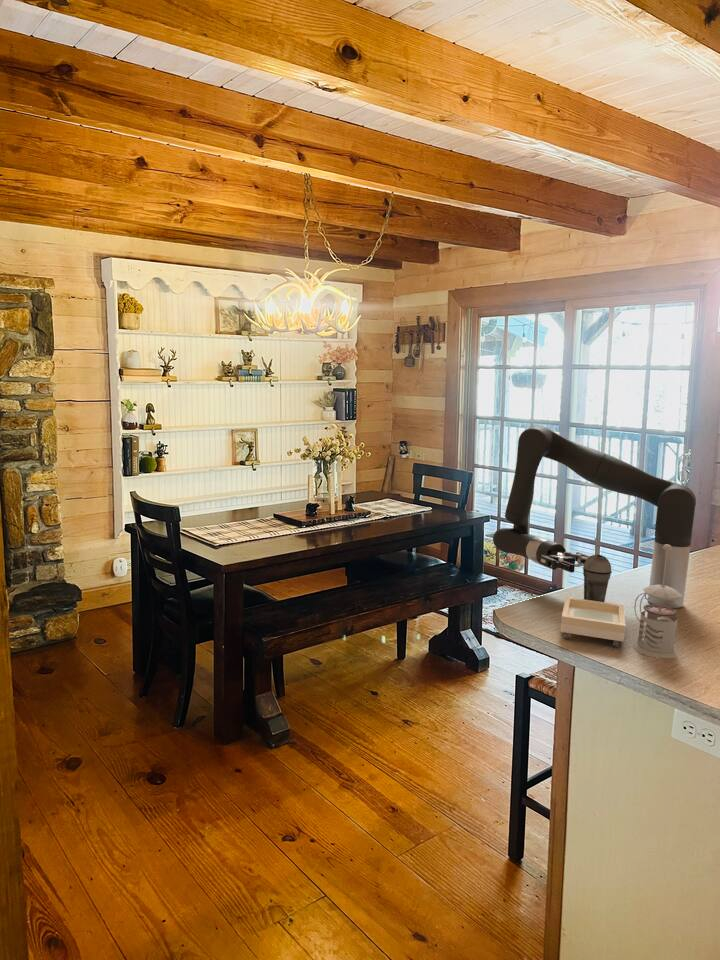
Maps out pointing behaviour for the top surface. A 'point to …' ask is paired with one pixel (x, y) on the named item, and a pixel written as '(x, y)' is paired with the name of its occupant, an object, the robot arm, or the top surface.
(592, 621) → the caster cart
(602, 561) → the beverage cup
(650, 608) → the french press
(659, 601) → the robot arm
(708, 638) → the top surface
